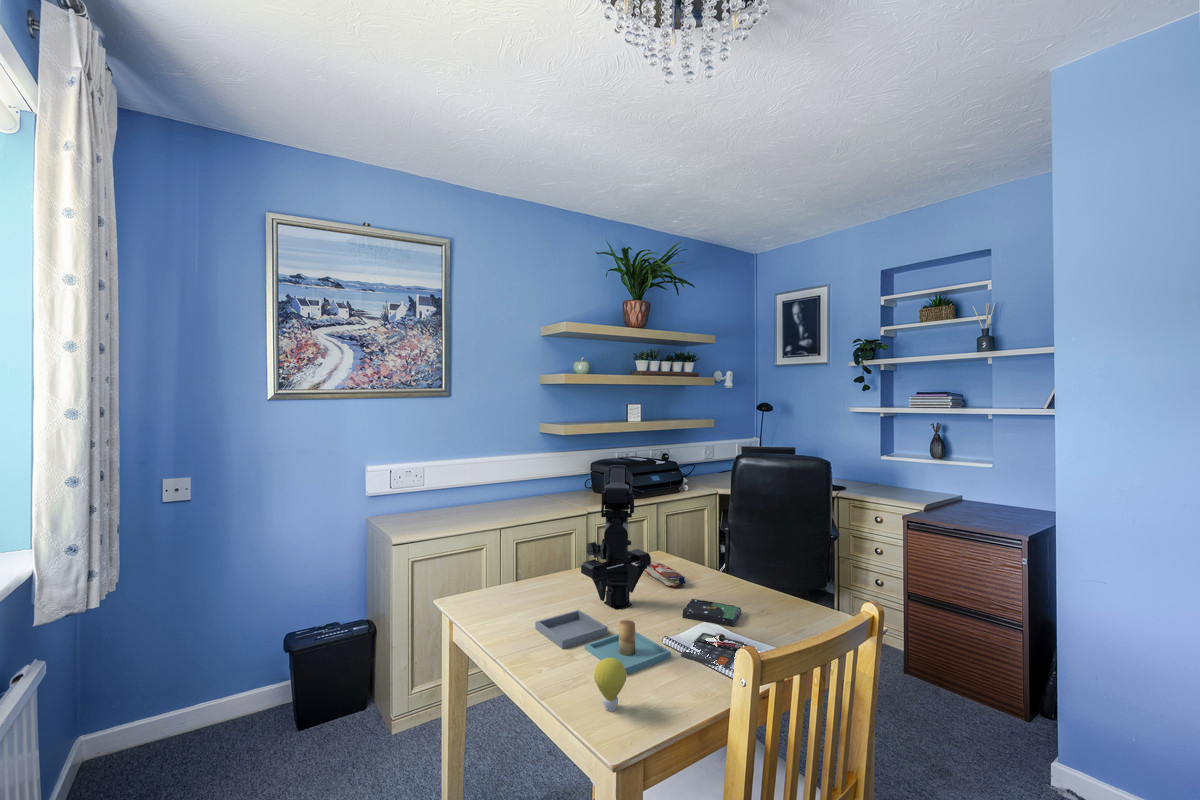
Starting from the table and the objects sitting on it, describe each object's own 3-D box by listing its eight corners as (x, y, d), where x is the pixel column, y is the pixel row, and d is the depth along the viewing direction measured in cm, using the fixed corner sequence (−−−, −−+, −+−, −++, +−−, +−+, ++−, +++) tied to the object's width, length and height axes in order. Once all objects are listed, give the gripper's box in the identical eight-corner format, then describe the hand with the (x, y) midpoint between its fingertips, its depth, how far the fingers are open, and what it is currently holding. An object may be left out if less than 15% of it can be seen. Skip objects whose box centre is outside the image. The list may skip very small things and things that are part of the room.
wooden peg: (628, 646, 137) (628, 618, 136) (638, 652, 133) (638, 624, 133) (615, 651, 134) (615, 623, 134) (625, 657, 131) (625, 628, 131)
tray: (631, 635, 144) (631, 629, 144) (670, 657, 132) (670, 651, 132) (585, 650, 136) (585, 644, 136) (621, 676, 123) (621, 669, 123)
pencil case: (669, 570, 198) (669, 556, 198) (688, 589, 178) (688, 574, 178) (640, 572, 195) (640, 558, 195) (656, 591, 176) (656, 576, 176)
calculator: (680, 654, 133) (703, 631, 145) (680, 658, 133) (703, 635, 145) (726, 667, 126) (746, 642, 139) (726, 671, 126) (746, 645, 139)
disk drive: (682, 620, 155) (734, 629, 149) (682, 610, 155) (734, 618, 149) (691, 607, 165) (741, 615, 158) (691, 598, 165) (741, 605, 158)
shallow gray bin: (578, 617, 155) (578, 609, 155) (607, 635, 144) (607, 627, 144) (535, 630, 147) (535, 621, 147) (562, 650, 136) (562, 640, 136)
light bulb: (592, 699, 114) (592, 652, 114) (624, 698, 115) (624, 651, 114) (595, 718, 107) (595, 668, 107) (628, 716, 108) (628, 667, 108)
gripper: (625, 523, 150) (625, 579, 151) (568, 534, 139) (569, 594, 140) (652, 532, 141) (652, 591, 142) (593, 545, 130) (594, 609, 131)
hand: (616, 596), depth 139 cm, fingers open, 9 cm apart
